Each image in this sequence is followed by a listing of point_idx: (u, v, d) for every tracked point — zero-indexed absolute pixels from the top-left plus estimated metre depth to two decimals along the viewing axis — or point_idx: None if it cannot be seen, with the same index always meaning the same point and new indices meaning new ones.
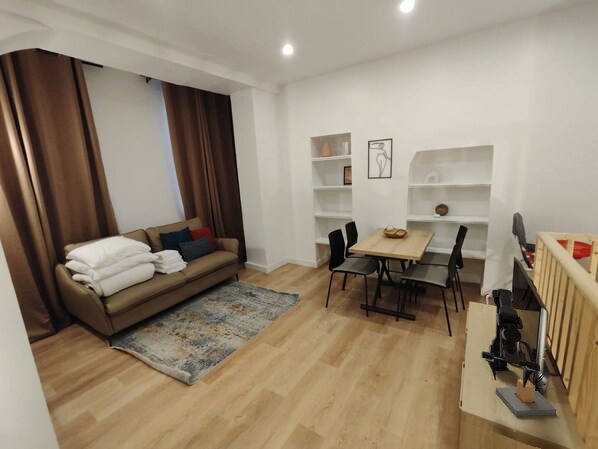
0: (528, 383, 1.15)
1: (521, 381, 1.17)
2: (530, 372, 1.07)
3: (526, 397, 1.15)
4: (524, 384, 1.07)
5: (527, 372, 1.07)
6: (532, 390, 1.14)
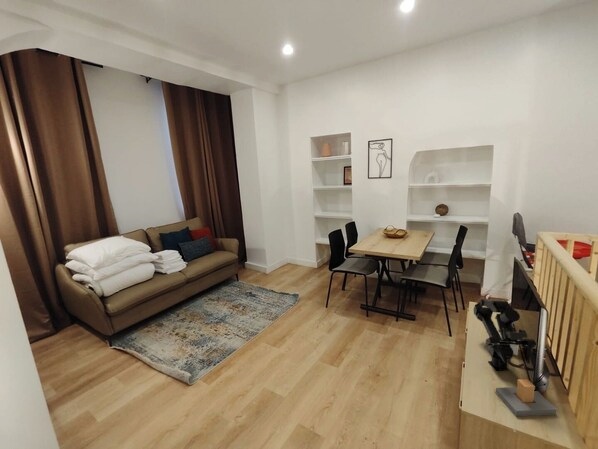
0: (528, 383, 1.15)
1: (521, 381, 1.17)
2: (531, 348, 1.22)
3: (526, 397, 1.15)
4: (528, 360, 1.21)
5: (528, 348, 1.22)
6: (532, 390, 1.14)
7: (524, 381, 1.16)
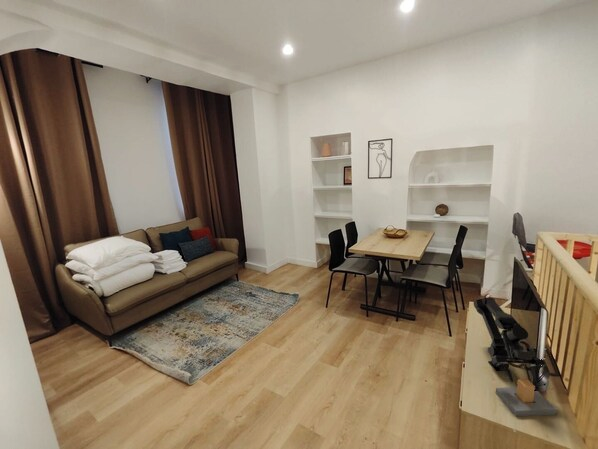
0: (528, 383, 1.15)
1: (521, 381, 1.17)
2: (539, 368, 1.17)
3: (526, 397, 1.15)
4: (537, 380, 1.16)
5: (536, 368, 1.17)
6: (532, 390, 1.14)
7: (524, 381, 1.16)
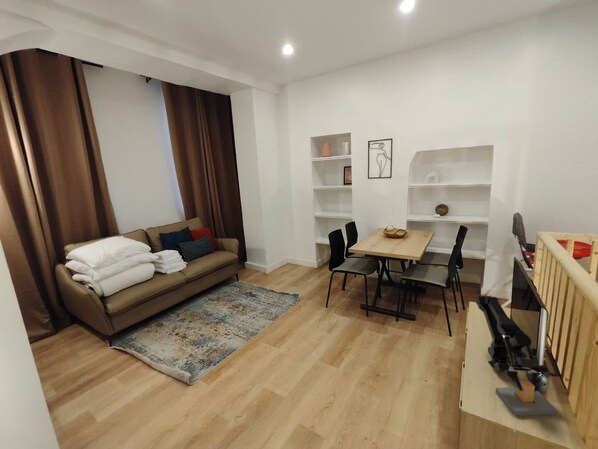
0: (528, 383, 1.15)
1: (521, 381, 1.17)
2: (536, 375, 1.15)
3: (526, 397, 1.15)
4: None
5: (533, 375, 1.16)
6: (532, 390, 1.14)
7: (524, 381, 1.16)
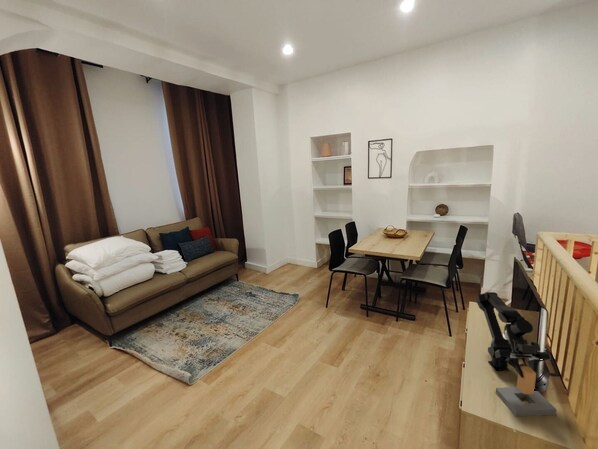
0: (529, 370, 1.14)
1: (522, 368, 1.15)
2: (538, 361, 1.14)
3: (527, 384, 1.14)
4: None
5: (535, 362, 1.14)
6: (533, 377, 1.13)
7: (525, 368, 1.15)
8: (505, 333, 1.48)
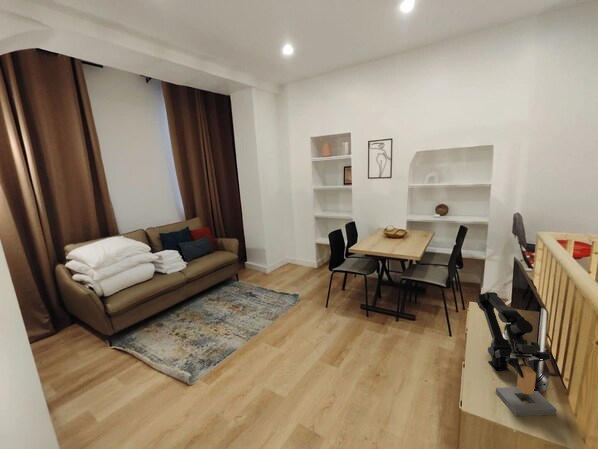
0: (529, 370, 1.14)
1: (522, 368, 1.15)
2: (538, 361, 1.14)
3: (527, 384, 1.14)
4: None
5: (535, 362, 1.14)
6: (533, 377, 1.13)
7: (525, 368, 1.15)
8: (505, 333, 1.48)
